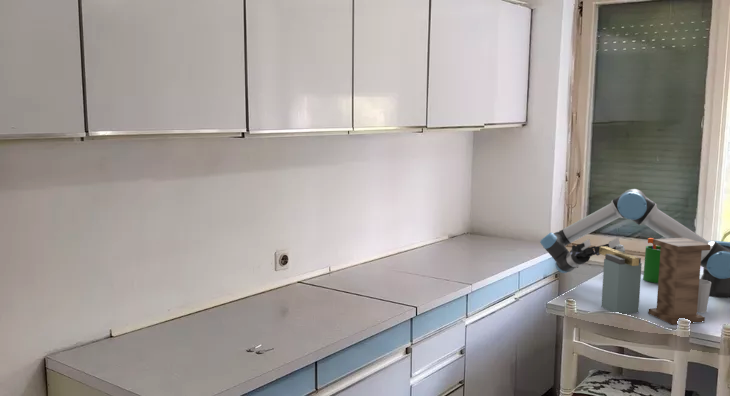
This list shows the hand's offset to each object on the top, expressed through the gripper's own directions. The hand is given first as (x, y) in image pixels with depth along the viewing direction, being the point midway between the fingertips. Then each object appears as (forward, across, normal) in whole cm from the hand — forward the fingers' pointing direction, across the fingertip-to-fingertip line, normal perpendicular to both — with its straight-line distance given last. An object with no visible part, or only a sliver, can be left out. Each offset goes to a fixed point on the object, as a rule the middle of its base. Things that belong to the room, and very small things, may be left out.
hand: (604, 241), depth 270 cm
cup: (+6, -30, -33) cm, 45 cm away
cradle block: (-1, 0, -28) cm, 29 cm away
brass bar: (+6, 0, -10) cm, 11 cm away
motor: (-33, -43, -10) cm, 55 cm away
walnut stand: (+11, -15, -36) cm, 40 cm away
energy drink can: (-43, -32, -5) cm, 53 cm away
